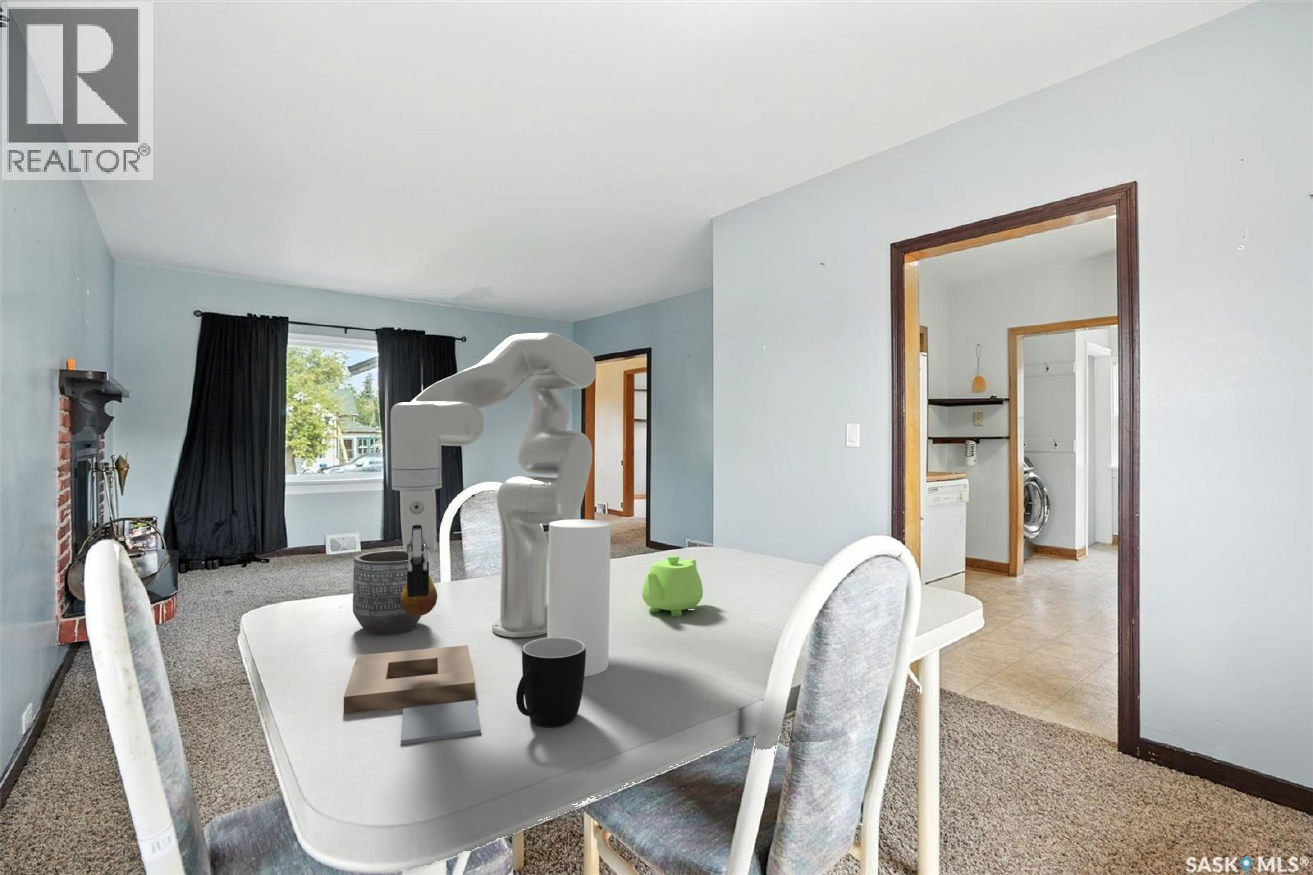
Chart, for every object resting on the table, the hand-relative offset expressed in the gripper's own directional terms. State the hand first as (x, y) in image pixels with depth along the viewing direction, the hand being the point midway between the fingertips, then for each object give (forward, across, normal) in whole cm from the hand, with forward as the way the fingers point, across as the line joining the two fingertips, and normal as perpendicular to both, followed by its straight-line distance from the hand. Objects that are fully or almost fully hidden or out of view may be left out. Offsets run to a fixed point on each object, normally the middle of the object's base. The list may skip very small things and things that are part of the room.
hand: (418, 589), depth 103 cm
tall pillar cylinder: (+16, -1, -26) cm, 30 cm away
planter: (+16, +32, +6) cm, 36 cm away
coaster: (+14, -17, -3) cm, 23 cm away
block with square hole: (+15, -1, +1) cm, 15 cm away
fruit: (+4, 0, 0) cm, 4 cm away
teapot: (+18, +28, -55) cm, 64 cm away
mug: (+15, -21, -17) cm, 31 cm away
